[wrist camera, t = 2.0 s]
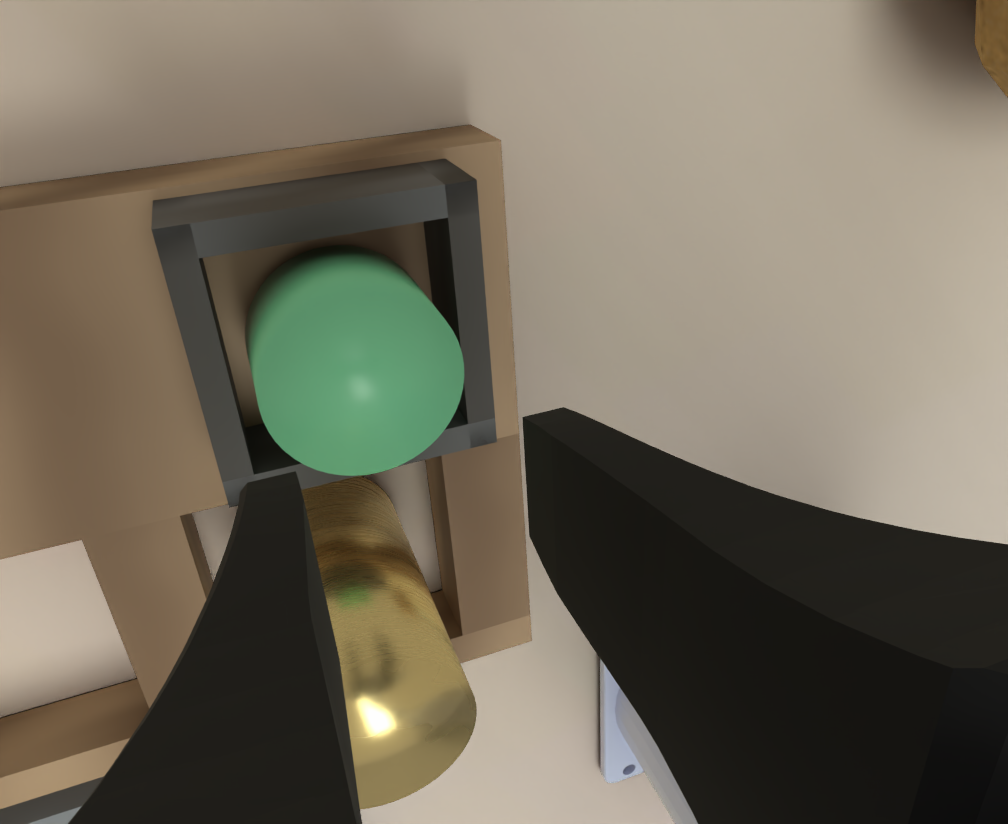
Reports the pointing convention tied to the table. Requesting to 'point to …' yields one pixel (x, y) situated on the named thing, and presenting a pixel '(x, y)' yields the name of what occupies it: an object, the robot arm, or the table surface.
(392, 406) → the button
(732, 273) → the table surface
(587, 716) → the table surface
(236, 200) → the pallet board
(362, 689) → the seated billet
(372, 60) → the table surface
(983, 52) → the potato
